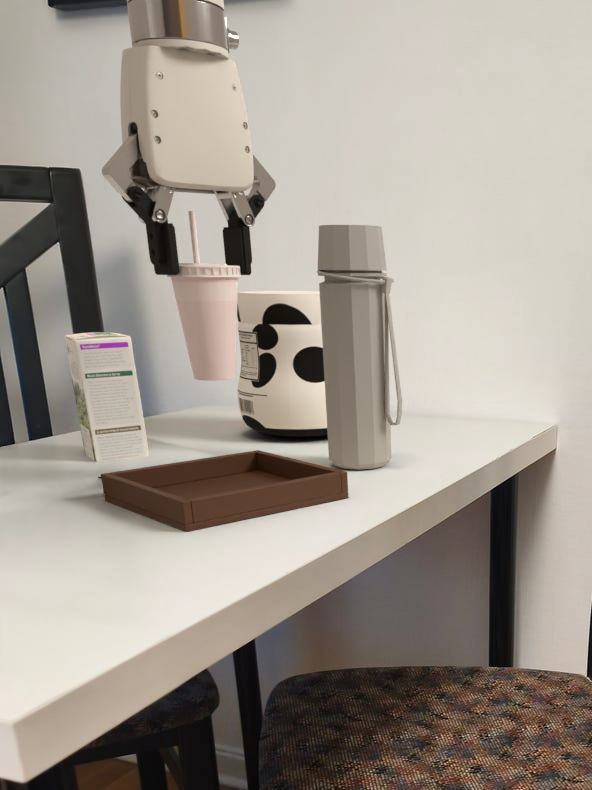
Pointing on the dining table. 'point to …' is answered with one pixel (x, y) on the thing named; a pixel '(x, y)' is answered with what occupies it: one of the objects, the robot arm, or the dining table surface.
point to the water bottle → (356, 345)
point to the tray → (223, 488)
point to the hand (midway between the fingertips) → (204, 272)
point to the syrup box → (107, 395)
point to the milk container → (282, 363)
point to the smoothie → (208, 313)
